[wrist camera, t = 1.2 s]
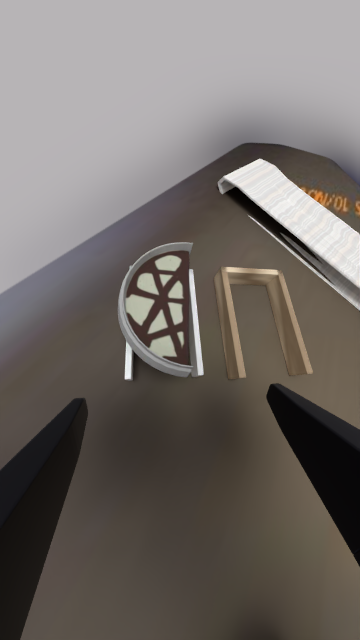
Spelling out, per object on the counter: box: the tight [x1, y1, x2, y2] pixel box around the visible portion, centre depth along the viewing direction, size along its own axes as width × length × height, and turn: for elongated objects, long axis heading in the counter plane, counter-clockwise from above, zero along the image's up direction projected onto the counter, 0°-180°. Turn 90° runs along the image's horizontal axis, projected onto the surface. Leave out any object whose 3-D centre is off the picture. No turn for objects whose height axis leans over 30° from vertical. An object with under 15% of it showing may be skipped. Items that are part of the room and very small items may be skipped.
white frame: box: [125, 266, 204, 381], centre depth 23 cm, size 8×14×3 cm, turn 3°
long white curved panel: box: [218, 159, 360, 310], centre depth 34 cm, size 12×4×40 cm
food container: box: [118, 242, 193, 377], centre depth 19 cm, size 12×6×10 cm, turn 178°
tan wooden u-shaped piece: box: [214, 267, 313, 379], centre depth 25 cm, size 10×15×3 cm, turn 3°
